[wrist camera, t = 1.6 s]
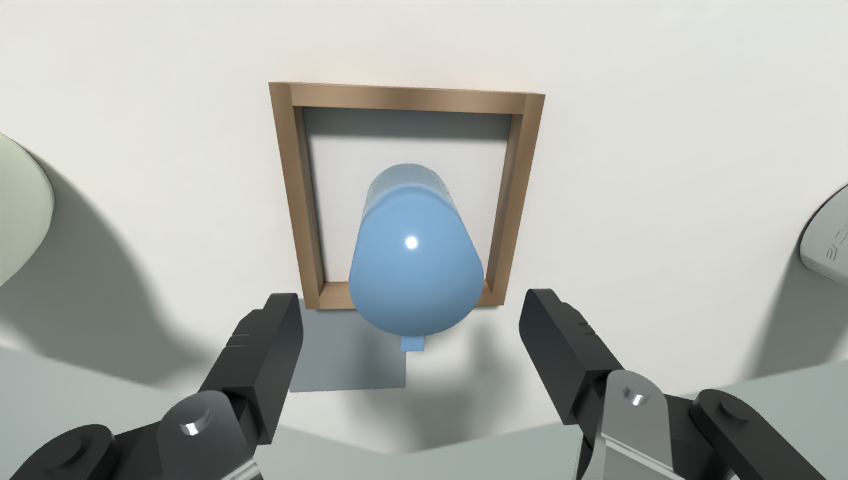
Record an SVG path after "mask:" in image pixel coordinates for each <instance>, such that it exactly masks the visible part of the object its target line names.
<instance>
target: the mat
mask: <svg viewBox="0 0 848 480" xmlns="http://www.w3.org/2000/svg"><path fill="white" fill-rule="evenodd" d="M299 305H300V311H301V317H302V323H303V332H304V334H303V344H302V348H301V351H300V354H299V357H298V360H297V364H296V367H295V370H294V373H293V376H292V379H291V383H290V386H289V389H290V393H291V392H313V391H335V390H357V389H380V388H402V387H405V351H401V340H400V335H396V334H391V333H388V332H385V331H383V330H381V329H379V328H377V327H375V326H374V325H372V324H370V323H369V322H368V321H367V320H365V319H364V318H363V317H362V315H361V314H360V313H359V312H358V311H357V309H356V308H354V309H307V310H306V308H305V302H304V299H299Z"/></svg>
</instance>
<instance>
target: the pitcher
mask: <svg viewBox="0 0 848 480" xmlns="http://www.w3.org/2000/svg"><path fill="white" fill-rule="evenodd" d="M54 205H55V198H54V192H53V189H52V186H51V184H50V182H49V179H48V177H47V176H46V174H45V173H44V171H43V170H42V168H41V167H40V166H39V164H38V163H37V162H36V161H35V160H34V159H33V158H32V157H31V156H30V155H29V154H28V153H27V152H26V151H25V150H24V149H23V148H22V147H20V146H19V145H18V144H16V143H15V142H14V141H12V140H11V139H9V138H8V137H6V136H5V135H3V134H1V133H0V287H1V286H2V285H3V284H4V283H5V282H6V281H8V280H9V279H10V278H11V277H12V276H13V275H14V274H15V273H16V272H18V271H19V270H20V268H21V267H22V266H23V265H24V264H25V263H26V262H27V261H28V260H29V259H30V257H31V256H32V255H33V253H34V252H35V251H36V250H37V248H38V247H39V246H40V244H41V243H42V241H43V239H44V238H45V236H46V234H47V232H48V229H49V227H50V223H51V218H52V213H53V210H54Z"/></svg>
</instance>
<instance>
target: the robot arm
mask: <svg viewBox="0 0 848 480" xmlns="http://www.w3.org/2000/svg"><path fill="white" fill-rule="evenodd" d="M800 256H801V260H802V262H803V264H804V265H805V266H806V267H807V268H809V269H811V270H812V271H814V272H816V273H818V274H821V275H823V276H825V277H827V278H829V279H831V280H833V281H835V282H838V283H840V284H842V285H844V286H846V287H848V186H846V187H845V188H844V189H842V190H841V191H840V192H839V193H838V194H836V195H835V196H834V197H833V198H831V199H830V200H829V201H828V202H827V203H826V205H825V206H824V207H823V208H822V209H821V210H820V211H819V212H818V213H817V215H816V216H815V217H814V219H813V220H812V221H811V222H810V224H809V226H808V228H807V230H806V231H805V233H804V236H803V239H802V242H801V245H800ZM519 332H520V337H521V339H522V341H523V343H524V345H525V347H526V350H527V352H528V354H529V356H530V358H531V360H532V362H533V364H534V366H535V368H536V370H537V372H538V374H539V376H540V378H541V380H542V382H543V384H544V386H545V388H546V390H547V392H548V394H549V396H550V398H551V400H552V402H553V404H554V406H555V408H556V410H557V412H558V414H559V416H560V418H561V420H562V422H563V424H564V425H574V424H579V426H580V428H581V430H582V434H581V436H580V439H579V445H578V451H577V456H576V462H575V468H574V474H573V480H730V479H731V478H732V477H733V476H734V475H735V474H736V475H737V476H738V477H739V478H740V480H826V479H825V478H824V477H823V476H822V475H821V474H820V473H819V472H818V471H817V470H816V469H815V468H814V467H813V466H812V465H811V464H810V463H809V462H808V461H807V460H806V459H805V458H803V456H801V454H799V453H798V452H797V451H796V450H795V449H794V448H793V447H792V446H791V445H790V444H789V443H788V442H787V441H786V440H785V439H784V438H783V437H782V436H781V435H780V434H779V433H778V432H777V431H776V430H775V429H774V428H773V427H772V426H771V425H770V424H769V423H768V422H767V421H766V420H765V419H764V418H763V417H762V416H761V415H760V414H759V413H758V412H756V411H755V410H754V409H753V408H752V407H750V406H749V405H748V404H746V403H745V402H743V401H742V400H740V399H738V398H737V397H735V396H732V395H731V394H728V393H726V392H723V391H720V390H715V389H705V390H702V391H701V392H700V393H699V395H698V396H697V397H696V399H695V400H694V401H693V400H689V399H684V398H680V397H676V396H671V395H667V394H663V393H662V392H661V390H660V389H659V388H658V387H657V386H656V385H655V384H654V383H652V382H651V381H650V380H648V379H647V378H645V377H643V376H642V375H640V374H637V373H635V372H632V371H628V370H625V369H624V368H623V367H622V365H621V364H620V363H619V362H618V360H617V359H616V358H615V357H614V355H613V354H612V353H611V352H610V350H609V349H608V348H607V346H606V345H605V344H604V343H603V341H602V340H601V339H600V338H599V336H598V335H596V334H595V331H594V330H593V329H592V328H591V326H590V325H588V323H587V321H586V320H585V319H584V317H583V316H582V315H581V314H580V312H579V311H577V310H576V309H574V308H573V307H572V306H570V305H569V304H567V303H566V302H563V303H562V302H561V301H560V299H559V298H558V297H557V295H556V294H555V293H554V291H553V290H552V289H529V290H528V291H527V293H526V296H525V300H524V304H523V308H522V312H521V317H520V321H519ZM303 334H304V332H303V323H302V317H301V311H300V305H299V299H298V295H297V294H296V293H273V294H271V295H270V297H269V298H268V300H267V302H266V304H265V306H264V308H263V309H255V310H252V311H251V312H250V313H249V314H248V315H247V316H245V317H244V318H243V319H242V320H241V321H240V322H239V324H238V325H237V327H236V329H235V330H234V332H233V334H232V337H230V339H229V340H228V342H227V344H226V348H224V349H223V350H222V352H221V354H220V356H219V357H218V359H217V361H216V362H215V364H214V366H213V367H212V369H211V371H210V372H209V374H208V376H207V377H206V379H205V381H204V382H203V384H202V386H201V387H200V389H199V391H198V392H197V393H196V394H193V395H191V396H188V397H187V398H185V399H183V400H181V401H180V402H179V403H177V404H176V405H175V406H173V407H172V408H171V409H170V410H169V411H168V412H167V413H166V414H165V415H164V417H163V418H162V420H161V421H158V422H156V423H153V424H150V425H146V426H143V427H140V428H137V429H134V430H131V431H127V432H124V433H121V434H118V435H115V436H113V434H112V433H111V431H110V430H109V429H108V428H107V427H106V426H103V425H99V424H91V425H85V426H81V427H77V428H75V429H72V430H69V431H67V432H65V433H63V434H61V435H59V436H57V437H56V438H54V439H52V440H51V441H49V442H48V443H46V444H45V445H43V446H42V447H41V448H39V449H38V450H37V451H36V452H34V453H33V454H32V455H31V456H30V457H29V458H28V459H27V460H26V461H25V462H24V463H23V465H22V466H21V467H20V468H19V469H18V470H17V471H16V473H15V474H14V475H13V476H12V477H11V478H10V479H9V480H263V477H262V475H261V473H260V470H259V468H258V466H257V464H256V463H255V461H254V459H253V455H254V453H255V450H256V447H257V445H267V444H271V443H272V439H273V436H274V433H275V430H276V427H277V424H278V421H279V417H280V414H281V411H282V408H283V405H284V402H285V398H286V395H287V392H288V389H289V386H290V383H291V379H292V376H293V373H294V370H295V367H296V364H297V360H298V357H299V354H300V351H301V348H302V344H303Z"/></svg>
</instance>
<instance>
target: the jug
mask: <svg viewBox="0 0 848 480" xmlns="http://www.w3.org/2000/svg"><path fill="white" fill-rule="evenodd" d="M483 283H484V273H483V267H482V263H481V261H480V259H479V256H478V254H477V252H476V250H475V248H474V246H473V243H472V241H471V239H470V237H469V235H468V233H467V230H466V228H465V226H464V224H463V222H462V220H461V217H460V215H459V213H458V211H457V209H456V207H455V205H454V202H453V200H452V198H451V196H450V194H449V192H448V189H447V187H446V185H445V184H444V182H443V180H442V179H441V178H440V177H439V176H438V175H437V174H436V173H435V172H433V171H432V170H430V169H428V168H426V167H424V166H421V165H417V164H400V165H396V166H393V167H390V168H388V169H386V170H385V171H383V172H382V173H381V174H379V175H378V176H377V177H376V178H375V180H374V181H373V182H372V184H371V186H370V188H369V190H368V193H367V197H366V202H365V206H364V211H363V215H362V220H361V224H360V229H359V233H358V238H357V242H356V247H355V252H354V256H353V261H352V265H351V270H350V275H349V292H350V296H351V299H352V302H353V304H354V306H355V308H356V309H357V311H358V312H359V313H360V314H361V315H362V317H363V318H364V319H365V320H367V321H368V322H369V323H370V324H372V325H374V326H375V327H377V328H379V329H381V330H383V331H385V332H388V333H391V334H396V335H400V340H401V351H424V336H425V335H431V334H435V333H438V332H441V331H443V330H446V329H448V328H450V327H452V326H454V325H455V324H457V323H458V322H460V321H461V320H462V319H463V318H465V317H466V316H467V315H468V314H469V313H470V312H471V310H472V309H473V308H474V306H475V305H476V303H477V302H478V300H479V298H480V295H481V293H482V289H483Z"/></svg>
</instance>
